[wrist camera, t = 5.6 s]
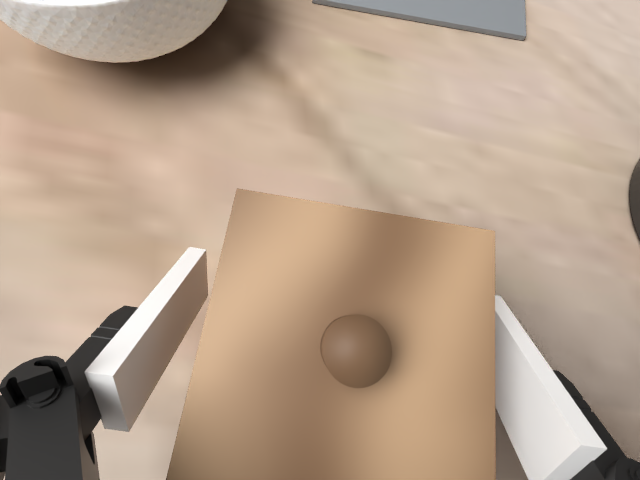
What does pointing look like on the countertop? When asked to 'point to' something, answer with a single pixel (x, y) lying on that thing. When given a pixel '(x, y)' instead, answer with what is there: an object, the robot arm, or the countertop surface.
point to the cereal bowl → (111, 25)
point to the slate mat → (449, 13)
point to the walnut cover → (343, 349)
